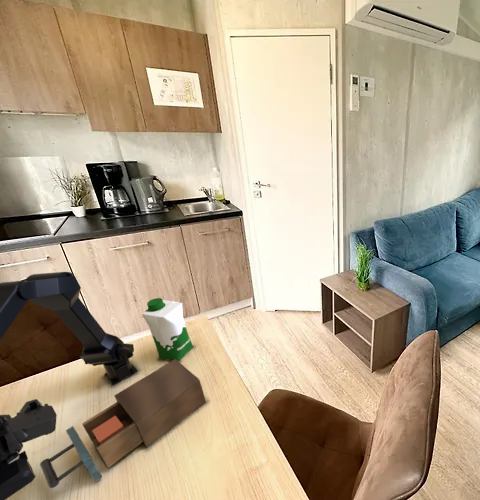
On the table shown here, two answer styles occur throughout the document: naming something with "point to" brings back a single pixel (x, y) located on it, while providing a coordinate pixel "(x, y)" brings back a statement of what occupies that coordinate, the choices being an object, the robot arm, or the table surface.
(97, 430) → the block
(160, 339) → the milk carton
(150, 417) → the cabinet
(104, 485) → the table surface
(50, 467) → the drawer
